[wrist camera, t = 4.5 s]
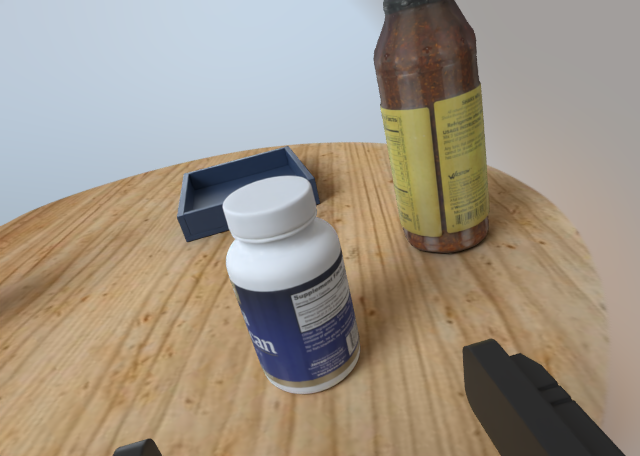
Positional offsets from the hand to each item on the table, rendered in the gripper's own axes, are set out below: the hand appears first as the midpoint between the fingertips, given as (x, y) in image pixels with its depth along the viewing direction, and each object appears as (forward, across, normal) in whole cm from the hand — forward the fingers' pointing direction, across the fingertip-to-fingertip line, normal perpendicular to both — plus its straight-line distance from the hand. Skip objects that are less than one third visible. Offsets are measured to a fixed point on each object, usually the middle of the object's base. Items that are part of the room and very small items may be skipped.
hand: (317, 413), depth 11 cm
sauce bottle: (+18, -11, +7) cm, 23 cm away
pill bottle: (+10, 0, +7) cm, 12 cm away
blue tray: (+37, +3, +7) cm, 38 cm away
